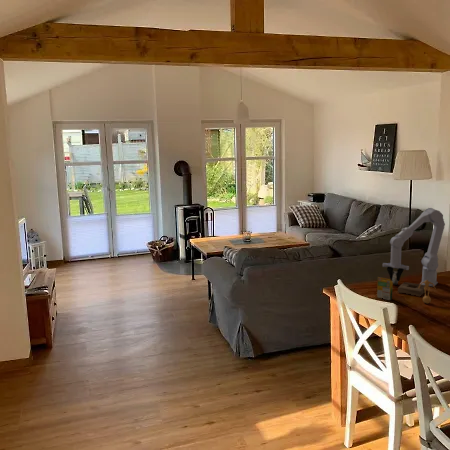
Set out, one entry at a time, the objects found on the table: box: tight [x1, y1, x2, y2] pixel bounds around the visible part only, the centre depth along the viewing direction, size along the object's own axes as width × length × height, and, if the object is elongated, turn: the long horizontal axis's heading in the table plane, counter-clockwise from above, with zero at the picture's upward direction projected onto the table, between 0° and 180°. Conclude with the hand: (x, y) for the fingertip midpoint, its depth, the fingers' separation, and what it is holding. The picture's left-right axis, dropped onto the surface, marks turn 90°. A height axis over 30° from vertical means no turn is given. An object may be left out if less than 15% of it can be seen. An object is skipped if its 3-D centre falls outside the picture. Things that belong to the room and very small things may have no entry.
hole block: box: [397, 281, 426, 297], centre depth 261 cm, size 12×12×3 cm
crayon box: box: [376, 276, 393, 301], centre depth 251 cm, size 7×3×12 cm, turn 48°
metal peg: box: [391, 270, 399, 286], centre depth 274 cm, size 3×3×7 cm
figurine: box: [418, 280, 437, 304], centre depth 243 cm, size 8×6×12 cm
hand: (394, 280), depth 274 cm, fingers closed on metal peg, 3 cm apart
